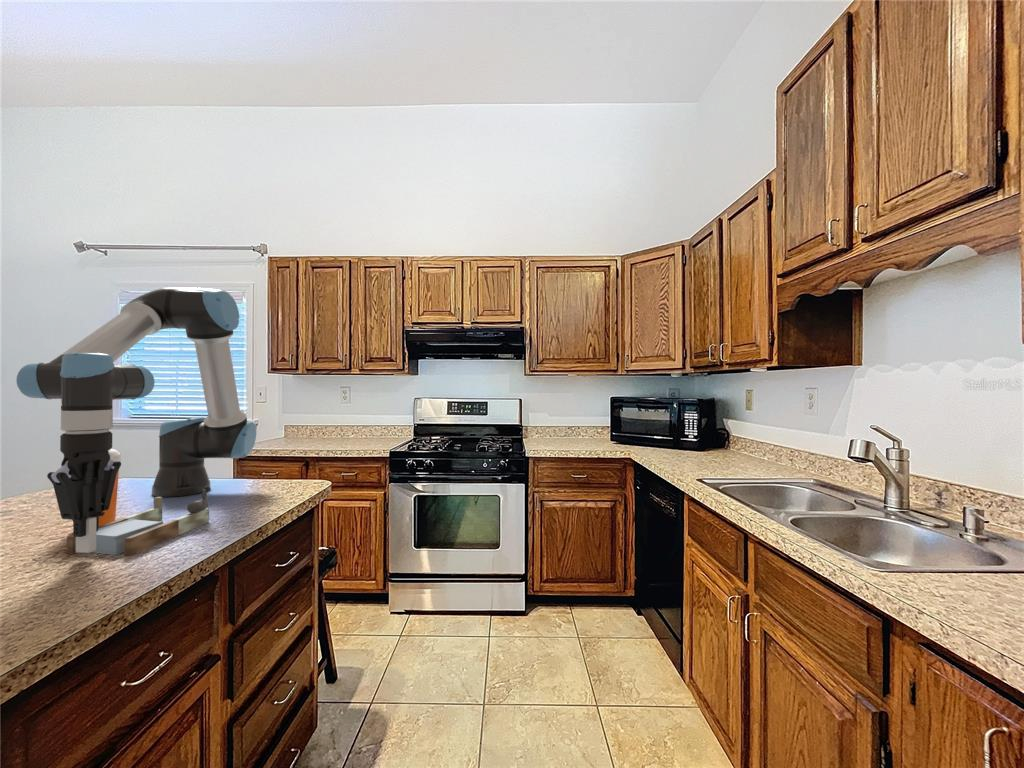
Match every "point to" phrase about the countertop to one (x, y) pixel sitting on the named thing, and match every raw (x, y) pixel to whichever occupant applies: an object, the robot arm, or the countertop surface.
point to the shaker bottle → (111, 512)
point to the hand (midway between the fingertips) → (85, 550)
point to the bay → (160, 532)
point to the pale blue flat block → (120, 535)
